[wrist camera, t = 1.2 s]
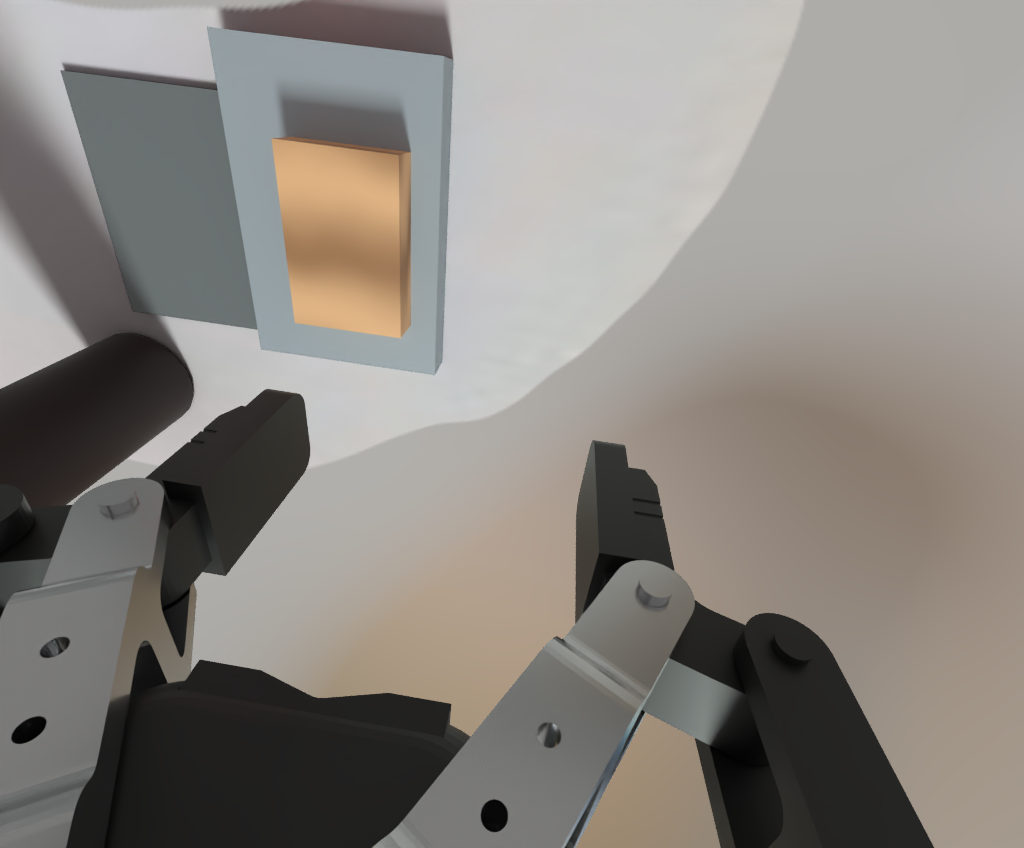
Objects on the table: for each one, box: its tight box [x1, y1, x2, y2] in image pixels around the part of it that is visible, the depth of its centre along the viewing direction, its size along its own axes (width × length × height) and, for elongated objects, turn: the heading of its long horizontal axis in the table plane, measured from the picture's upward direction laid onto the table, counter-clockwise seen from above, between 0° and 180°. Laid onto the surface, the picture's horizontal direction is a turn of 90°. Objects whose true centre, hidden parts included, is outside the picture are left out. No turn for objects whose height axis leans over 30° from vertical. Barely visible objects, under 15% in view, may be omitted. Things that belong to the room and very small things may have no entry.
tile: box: [271, 137, 411, 338], centre depth 27 cm, size 9×6×2 cm, turn 174°
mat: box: [61, 70, 258, 329], centre depth 30 cm, size 13×9×1 cm
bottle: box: [0, 334, 193, 508], centre depth 28 cm, size 7×7×20 cm
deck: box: [207, 27, 453, 375], centre depth 28 cm, size 16×11×2 cm
